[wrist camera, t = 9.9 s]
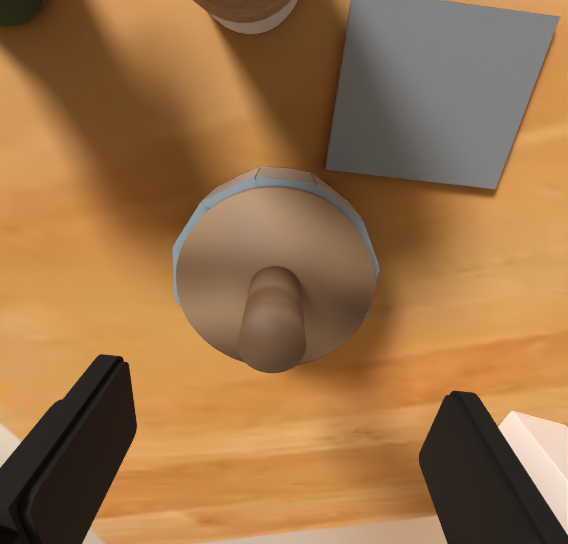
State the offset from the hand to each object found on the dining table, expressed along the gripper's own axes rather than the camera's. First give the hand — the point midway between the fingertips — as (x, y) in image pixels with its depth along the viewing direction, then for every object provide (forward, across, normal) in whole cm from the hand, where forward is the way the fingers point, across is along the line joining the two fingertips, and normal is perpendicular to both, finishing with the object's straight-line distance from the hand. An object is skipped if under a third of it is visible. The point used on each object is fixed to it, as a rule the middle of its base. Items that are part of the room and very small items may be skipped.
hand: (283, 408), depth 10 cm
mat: (+15, -7, -9) cm, 19 cm away
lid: (+10, +1, +1) cm, 10 cm away
